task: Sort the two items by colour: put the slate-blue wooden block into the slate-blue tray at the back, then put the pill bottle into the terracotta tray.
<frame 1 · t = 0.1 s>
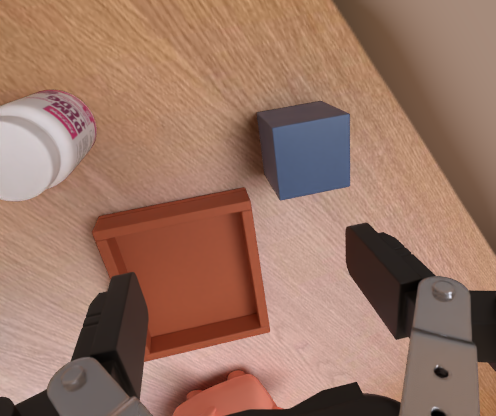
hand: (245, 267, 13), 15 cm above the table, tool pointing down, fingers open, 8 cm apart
pill bottle: (61, 124, 24), on the table
teapot: (225, 397, 39), on the table
blue block: (291, 139, 27), on the table
terracotta tray: (191, 269, 31), on the table
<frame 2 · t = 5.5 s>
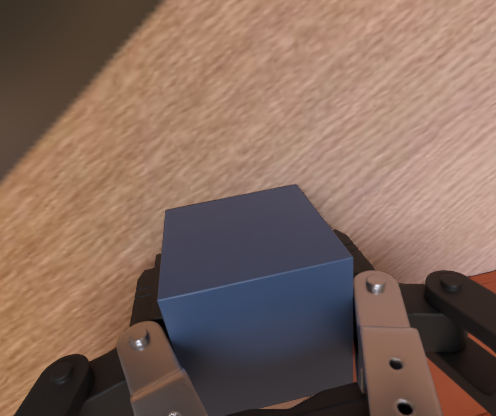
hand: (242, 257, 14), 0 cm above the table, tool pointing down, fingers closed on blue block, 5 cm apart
blue block: (241, 251, 14), on the table, touching gripper
terracotta tray: (442, 361, 20), on the table
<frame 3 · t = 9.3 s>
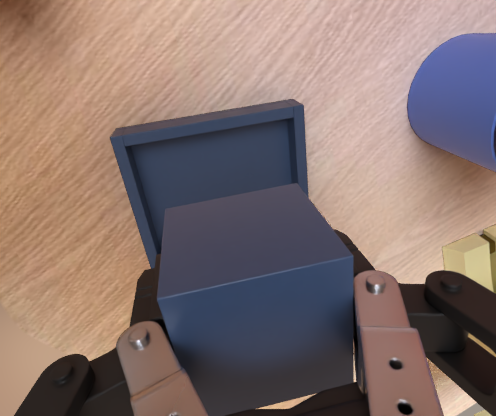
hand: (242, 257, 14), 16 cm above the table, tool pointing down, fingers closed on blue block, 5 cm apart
blue tray: (219, 183, 29), on the table
water bottle: (455, 93, 30), on the table
blue block: (241, 250, 14), point 15 cm above the table, touching gripper
when the fingers open (1 cm above the table, at t = 13.3 s): blue block stays where it is, resting on blue tray.
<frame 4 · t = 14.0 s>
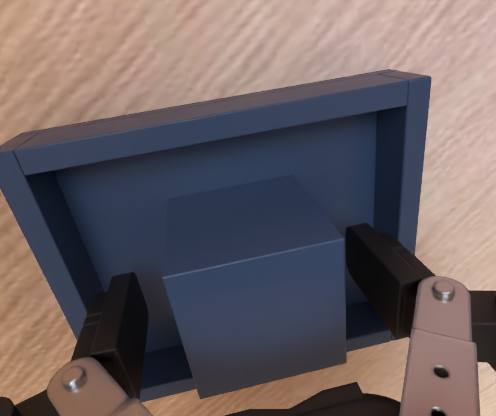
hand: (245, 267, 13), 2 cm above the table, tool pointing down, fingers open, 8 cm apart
blue tray: (237, 234, 15), on the table
blue block: (241, 239, 15), point 1 cm above the table, touching blue tray
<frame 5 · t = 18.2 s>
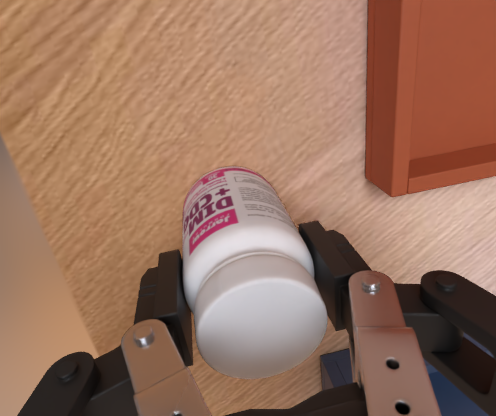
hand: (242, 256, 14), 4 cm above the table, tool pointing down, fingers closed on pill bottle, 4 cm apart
blue tray: (408, 386, 27), on the table
pill bottle: (229, 207, 18), on the table, touching gripper
blue block: (413, 393, 26), point 1 cm above the table, touching blue tray
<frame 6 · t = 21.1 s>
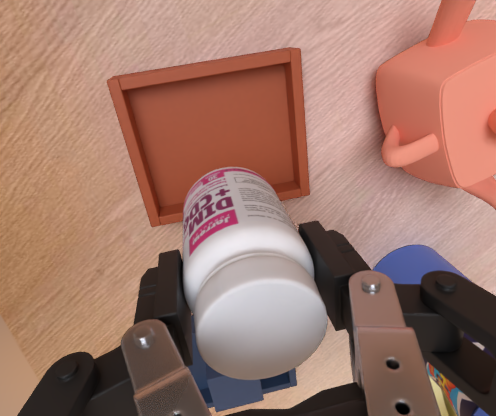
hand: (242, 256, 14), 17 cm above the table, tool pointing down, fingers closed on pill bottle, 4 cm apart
slatted curved stool: (452, 384, 51), on the table
blue tray: (228, 347, 40), on the table
pill bottle: (229, 207, 18), point 13 cm above the table, touching gripper
teapot: (418, 98, 31), on the table
water bottle: (403, 277, 40), on the table
blue block: (230, 350, 39), point 1 cm above the table, touching blue tray
terracotta tray: (217, 136, 29), on the table
when the fingers open (5 cm above the table, at t = 24.3 s): pill bottle stays where it is, resting on terracotta tray.
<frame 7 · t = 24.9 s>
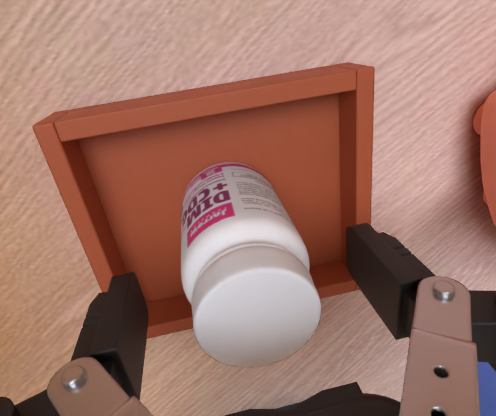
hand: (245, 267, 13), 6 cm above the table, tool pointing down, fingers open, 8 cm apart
pill bottle: (227, 202, 18), resting on terracotta tray
water bottle: (476, 369, 30), on the table
terracotta tray: (227, 199, 19), on the table
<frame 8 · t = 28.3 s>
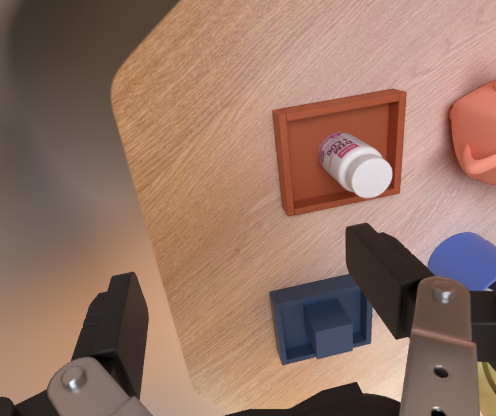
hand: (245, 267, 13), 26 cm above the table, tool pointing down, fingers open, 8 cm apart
slatted curved stool: (486, 349, 62), on the table
blue tray: (319, 312, 51), on the table
pill bottle: (336, 151, 40), resting on terracotta tray
teapot: (477, 122, 42), on the table
water bottle: (455, 258, 51), on the table
blue block: (321, 315, 50), point 1 cm above the table, touching blue tray
terracotta tray: (335, 150, 40), on the table
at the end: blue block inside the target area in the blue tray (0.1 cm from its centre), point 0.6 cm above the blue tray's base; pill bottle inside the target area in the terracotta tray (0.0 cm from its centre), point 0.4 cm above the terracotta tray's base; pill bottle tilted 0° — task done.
